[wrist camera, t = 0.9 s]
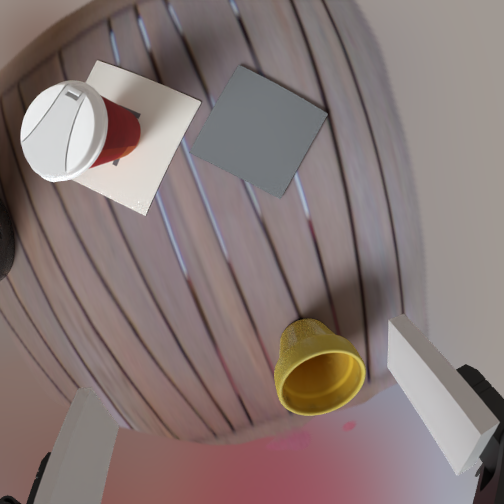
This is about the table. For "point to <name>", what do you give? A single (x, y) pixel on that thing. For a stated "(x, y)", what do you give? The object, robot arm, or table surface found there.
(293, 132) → the slate coaster
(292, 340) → the plant pot
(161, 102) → the tile
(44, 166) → the paper cup
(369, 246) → the table surface
